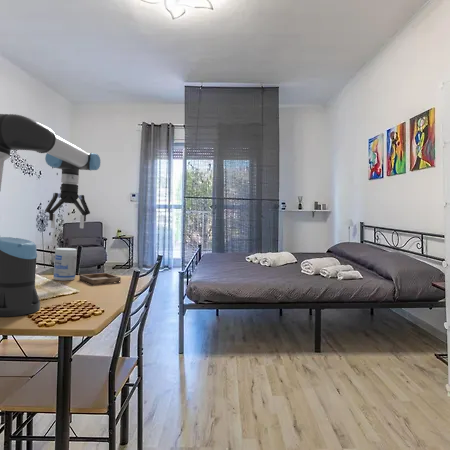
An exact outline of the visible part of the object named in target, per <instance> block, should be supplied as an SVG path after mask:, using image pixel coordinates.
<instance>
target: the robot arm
mask: <svg viewBox="0 0 450 450" xmlns="http://www.w3.org/2000/svg"><path fill="white" fill-rule="evenodd" d="M11 151H31V152H36V153H39V154H45V158H44V159H45V163H46V165H48V167H51V168H54V169H60V170H61V178H60V181H61V182H60V183H61V184H60V193H58V192H53V194H52V198H51V199H50V202H49V203H48V205H47V206H46V208H45V213H48V221H50V228H52V229H55V227H56V213H55V212H56V211H57V210H59V208H60V207H62V206H63V204H73V205H74V206H75V207H76V209H78V211H79V212H80V213H81V214H80V217H79V218H80V219H79V229H84V228H85V227H84V226H85V225H84V224H85V222H86V221H87V216H88V215H90V214H91V211H90V209H89V206H88V204H87V202H86V200H85V195H84V194H81V195H80V194H78V193H79V185H78V184H79V178H80V176H79V173H80V170H81V171H97V170H99V169H100V167H101V157H100V155H99V154H97V153H93V152H86V151H85V150H83V149H81V148H80V147H78V146H76V145H75V144H73V143H71V142H69V141H67V140H65V139H63V138H62V137H60V136H59V135H58V134H57V135H56V134H55V131H53V129H52V128H50V127H48V126H47V125H45V124H42V123H41V122H39V121H37V120H34V119H32V118H30V117H27V116H25V115H22V114H21V115H20V114H17V113H16V114H14V113H12V114H11V113H10V114H7V113H0V191H1V188H2V181H3V173H4V163H5V161H6V160H8V159H10V158H11ZM58 198H60V200H59V201H58V202H57V203H56V201H57V200H58ZM78 199H79V201H80V202H79V201H78ZM55 203H56V204H55ZM80 203H81V204H80ZM54 204H55V205H54ZM53 206H54V207H53ZM37 251H38V250H37V245H36V244H35V242H34V241H31V240H30V239H26V238H25V239H24V238H20V237H10V236H9V237H8V236H2V237H1V236H0V317H1V318H2V317H19V316H25V315H26V316H27V315H30V314H33V313H36V312H38V311H39V310H40V307H41V301H40V298H39V294H38V292H37V287H36V274H37V273H36V272H37V258H38V254H37Z"/></svg>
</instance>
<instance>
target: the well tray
mask: <svg viewBox="0 0 450 450" xmlns="http://www.w3.org/2000/svg"><path fill="white" fill-rule="evenodd" d="M78 277H79V279H78V280H79V281H80V282H83V283H85V284H87V285H91V286H99V285H108V284H109V283H111V284H115V283H114V282H119V281H120V282H122V281H121V279H122V278H121V276H118V275H114V274H111V273H108V272H100V273H98V272H97V273H89V274H88V273H87V274H85V273H84V274H79V276H78Z"/></svg>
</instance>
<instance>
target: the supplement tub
mask: <svg viewBox="0 0 450 450" xmlns="http://www.w3.org/2000/svg"><path fill="white" fill-rule="evenodd" d="M77 255H78V249H77V248H73V247H72V248H71V247H56V248H55V252H54V265H53V266H54V267H53V280H56V281H60V282H61V281H64V282H65V281H73V280H75V278H76V269H77V259H78V258H77V257H78V256H77Z"/></svg>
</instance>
